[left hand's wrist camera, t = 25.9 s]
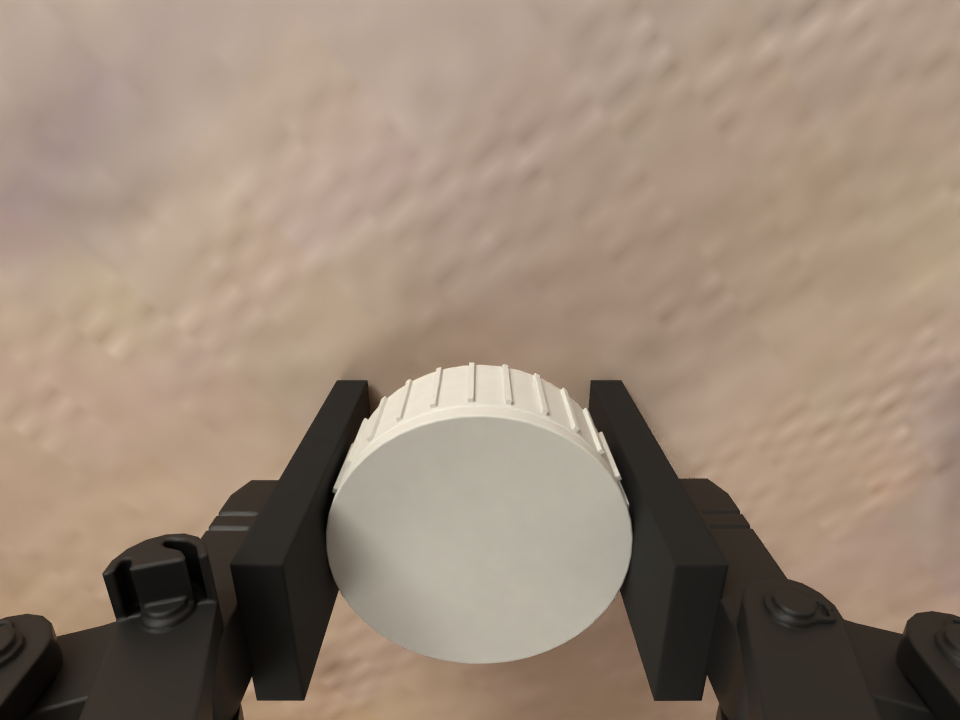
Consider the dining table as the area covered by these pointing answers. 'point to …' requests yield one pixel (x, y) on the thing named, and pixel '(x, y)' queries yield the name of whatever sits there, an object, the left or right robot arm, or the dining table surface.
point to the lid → (479, 517)
